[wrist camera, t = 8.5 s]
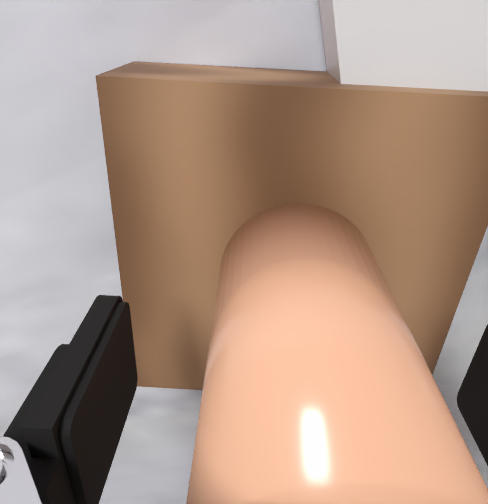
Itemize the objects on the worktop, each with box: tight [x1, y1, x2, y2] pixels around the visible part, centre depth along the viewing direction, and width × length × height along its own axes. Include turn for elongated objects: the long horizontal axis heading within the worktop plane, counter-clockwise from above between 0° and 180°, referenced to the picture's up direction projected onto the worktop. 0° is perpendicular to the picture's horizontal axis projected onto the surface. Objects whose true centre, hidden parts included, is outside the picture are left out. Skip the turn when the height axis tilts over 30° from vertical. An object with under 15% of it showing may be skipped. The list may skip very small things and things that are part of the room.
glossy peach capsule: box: [186, 204, 488, 504], centre depth 10 cm, size 5×5×9 cm
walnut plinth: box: [96, 62, 488, 390], centre depth 16 cm, size 12×12×4 cm
